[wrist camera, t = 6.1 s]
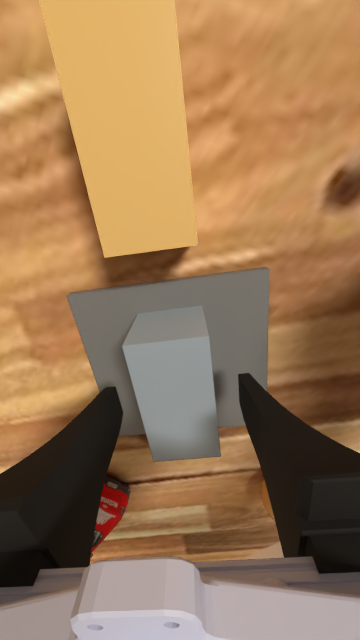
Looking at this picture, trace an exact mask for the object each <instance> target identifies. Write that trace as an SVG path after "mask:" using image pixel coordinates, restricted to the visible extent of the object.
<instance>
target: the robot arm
mask: <svg viewBox="0 0 360 640" xmlns="http://www.w3.org/2000/svg"><path fill="white" fill-rule="evenodd" d="M238 385H239V403H240V407H241V411H242V415H243V419H244V422H245V424H246V427H247V430H248V432H249V435H250V438H251V440H252V443H253V446H254V448H255V451H256V454H257V457H258V460H259V463H260V466H261V469H262V473H263V476H264V480H265V484H266V488H267V491H268V495H269V499H270V503H271V506H272V510H273V514H274V518H275V522H276V526H277V530H278V534H279V538H280V542H281V545H282V550H283V555H284V558H269V559H250V560H249V559H248V560H227V561H206V562H191V561H189V560H186V559H184V558H181V557H171V556H161V557H141V558H121V559H105V560H100V561H95V562H93V563H92V564H91V565H89V564H90V558H91V551H92V544H93V538H94V533H95V527H96V521H97V516H98V511H99V506H100V501H101V496H102V491H103V487H104V482H105V478H106V474H107V470H108V467H109V464H110V461H111V458H112V455H113V451H114V448H115V445H116V442H117V439H118V436H119V432H120V429H121V424H122V418H123V409H122V406H121V403H120V399H119V396H118V393H117V390H116V386H114V387H105V388H104V389H103V390H102V391H101V392H100V393H99V394H98V395H97V397H96V398H95V399H94V400H93V401H92V402H91V403H90V404H89V405H88V406H87V407H86V408H85V409H84V410H83V411H82V412H81V413H80V414H79V415H78V416H77V417H76V418H75V419H74V420H73V421H72V422H71V423H69V424H68V425H67V426H66V427H65V428H64V429H63V430H62V431H61V432H59V433H58V434H57V435H56V436H55V437H53V438H52V439H51V440H50V441H48V442H47V443H46V444H44V445H43V446H42V447H40V448H39V449H38V450H36V451H35V452H33V453H32V454H31V455H29V456H28V457H26V458H25V459H23V460H22V461H20V462H19V463H17V464H16V465H14V466H12V467H11V468H9V469H8V470H6V471H4V472H3V473H1V474H0V640H360V453H358V452H356V451H354V450H352V449H349V448H347V447H345V446H343V445H341V444H340V443H338V442H336V441H334V440H332V439H330V438H328V437H327V436H325V435H323V434H322V433H320V432H318V431H317V430H315V429H314V428H312V427H310V426H309V425H307V424H306V423H304V422H303V421H301V420H300V419H299V418H297V417H296V416H295V415H293V414H292V413H291V412H289V411H288V410H287V409H286V408H284V407H283V406H282V405H281V404H280V403H279V402H278V401H276V400H275V399H274V398H273V397H272V396H271V395H270V394H269V393H268V392H267V391H266V390H265V389H264V388H263V387H262V386H261V385H260V384H259V383H258V382H257V381H256V380H255V379H254V377H253V376H252V375H251V374H250V373H242V374H238Z"/></svg>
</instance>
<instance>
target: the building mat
mask: <svg viewBox="0 0 360 640" xmlns="http://www.w3.org/2000/svg"><path fill="white" fill-rule="evenodd" d="M67 298H68V301H69V304H70V307H71V309H72V312H73V315H74V318H75V321H76V324H77V327H78V330H79V333H80V336H81V338H82V341H83V344H84V347H85V350H86V353H87V356H88V359H89V362H90V364H91V367H92V370H93V373H94V376H95V379H96V382H97V385H98V388H99V391H100V392H101V391H102V390H103V389H104V388H105V387H114V386H116V390H117V393H118V396H119V399H120V403H121V406H122V409H123V418H122V424H121V429H120V432H119V436H130V435H141V434H146V432H145V428H144V425H143V421H142V417H141V414H140V410H139V406H138V403H137V399H136V395H135V392H134V388H133V384H132V381H131V377H130V373H129V370H128V366H127V362H126V359H125V355H124V351H123V348H122V345H123V343H124V341H125V339H126V337H127V335H128V333H129V331H130V329H131V327H132V325H133V323H134V321H135V319H136V317H137V314H139V313H147V312H155V311H163V310H171V309H179V308H187V307H195V306H202V307H203V311H204V316H205V320H206V325H207V329H208V334H209V342H210V352H211V362H212V372H213V382H214V392H215V402H216V412H217V422H218V428H222V427H234V426H246V424H245V422H244V419H243V415H242V411H241V407H240V403H239V385H238V374H242V373H250V374H251V375H252V376H253V377H254V379H255V380H256V381H257V382H258V383H259V384H260V385H261V386H262V387H263V388H264V389H265V390H266V391H267V362H268V309H269V269H268V268H267V267H262V268H254V269H247V270H239V271H232V272H224V273H216V274H209V275H201V276H193V277H186V278H178V279H170V280H163V281H155V282H147V283H140V284H132V285H124V286H117V287H109V288H102V289H94V290H86V291H79V292H71V293H70V294H68V295H67Z"/></svg>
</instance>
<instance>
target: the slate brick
mask: <svg viewBox="0 0 360 640" xmlns="http://www.w3.org/2000/svg"><path fill="white" fill-rule="evenodd" d="M122 348H123V351H124V355H125V359H126V362H127V366H128V370H129V373H130V377H131V381H132V384H133V388H134V392H135V395H136V399H137V403H138V406H139V410H140V414H141V417H142V421H143V425H144V428H145V432H146V436H147V439H148V443H149V447H150V450H151V454H152V457H153V461H154V462H159V461H172V460H184V459H197V458H209V457H221V453H220V443H219V433H218V422H217V412H216V402H215V392H214V382H213V372H212V362H211V352H210V342H209V334H208V329H207V325H206V320H205V316H204V311H203V307H202V306H195V307H187V308H179V309H171V310H163V311H155V312H147V313H139V314H137V317H136V319H135V321H134V323H133V325H132V327H131V329H130V331H129V333H128V335H127V337H126V339H125V341H124V343H123V345H122Z"/></svg>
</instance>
